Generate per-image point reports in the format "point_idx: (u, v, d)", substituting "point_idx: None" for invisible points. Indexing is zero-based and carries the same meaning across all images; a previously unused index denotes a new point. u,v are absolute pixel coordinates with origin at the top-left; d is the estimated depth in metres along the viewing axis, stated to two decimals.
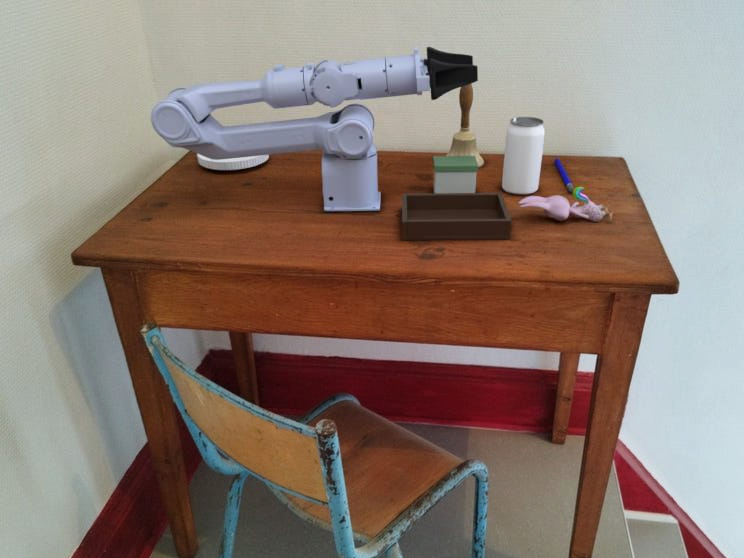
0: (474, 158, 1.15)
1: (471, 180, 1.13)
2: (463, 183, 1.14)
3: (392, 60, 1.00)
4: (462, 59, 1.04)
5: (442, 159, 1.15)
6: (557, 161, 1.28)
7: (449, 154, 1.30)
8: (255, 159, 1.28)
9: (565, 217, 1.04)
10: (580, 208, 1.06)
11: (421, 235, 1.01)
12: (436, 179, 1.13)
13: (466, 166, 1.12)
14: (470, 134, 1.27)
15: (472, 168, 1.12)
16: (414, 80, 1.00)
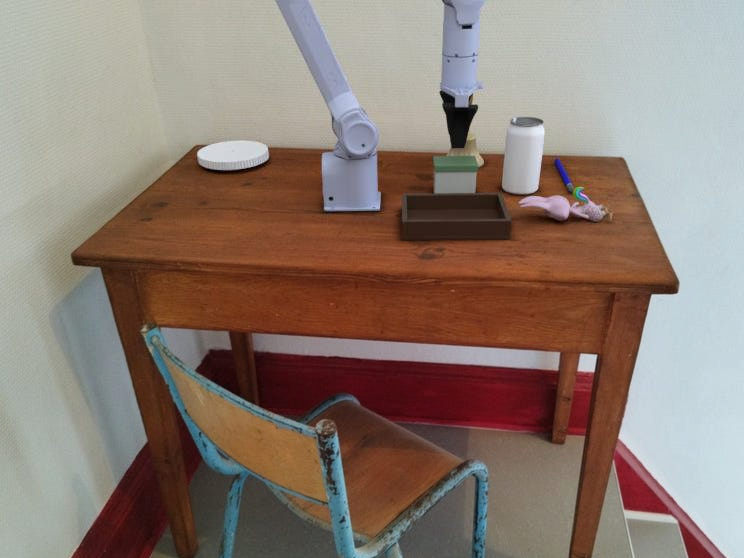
0: (474, 158, 1.15)
1: (471, 180, 1.13)
2: (463, 183, 1.14)
3: (476, 62, 1.04)
4: None
5: (442, 159, 1.15)
6: (557, 161, 1.28)
7: (449, 154, 1.30)
8: (255, 159, 1.28)
9: (565, 217, 1.04)
10: (580, 208, 1.06)
11: (421, 235, 1.01)
12: (436, 179, 1.13)
13: (466, 166, 1.12)
14: (470, 134, 1.27)
15: (472, 168, 1.12)
16: (458, 85, 1.04)
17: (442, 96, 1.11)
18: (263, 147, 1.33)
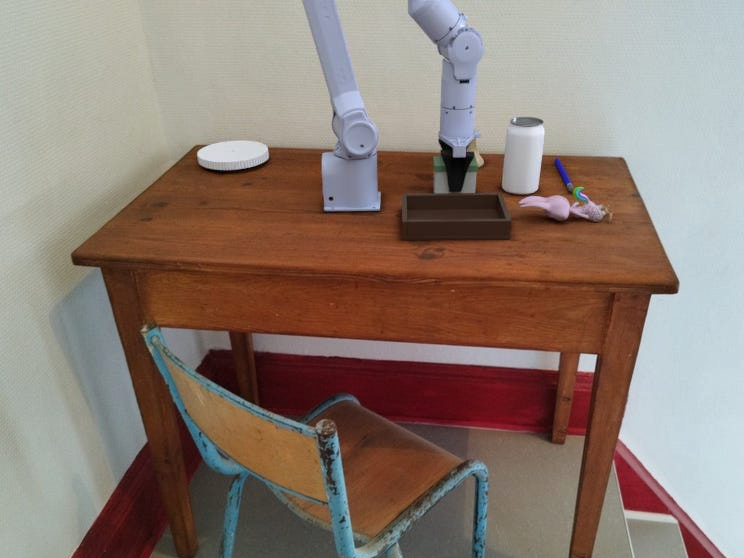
0: (474, 158, 1.15)
1: (471, 180, 1.14)
2: None
3: (473, 113, 1.08)
4: None
5: (442, 159, 1.15)
6: (557, 161, 1.28)
7: None
8: (255, 159, 1.28)
9: (565, 217, 1.04)
10: (580, 208, 1.06)
11: (421, 235, 1.01)
12: (436, 179, 1.14)
13: None
14: None
15: (472, 168, 1.12)
16: (456, 135, 1.09)
17: (441, 144, 1.15)
18: (263, 147, 1.33)
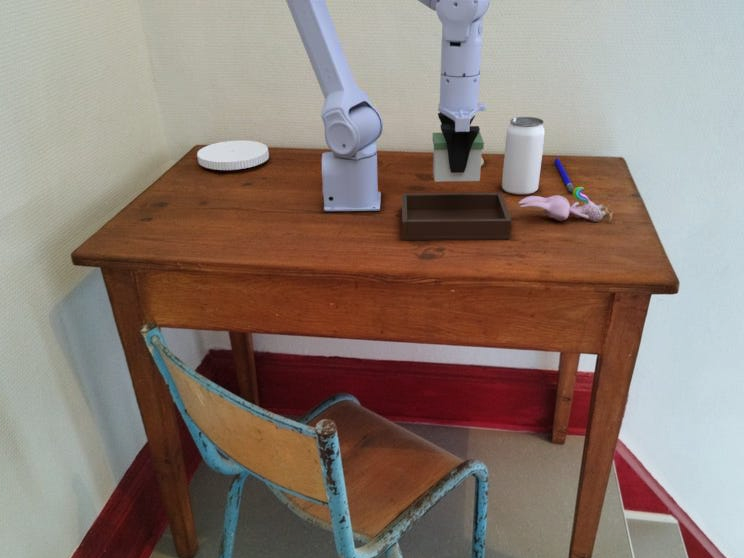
0: (479, 135, 1.01)
1: (475, 160, 1.00)
2: None
3: (478, 82, 0.95)
4: None
5: None
6: (557, 161, 1.28)
7: None
8: (255, 159, 1.28)
9: (565, 217, 1.04)
10: (580, 208, 1.06)
11: (421, 235, 1.01)
12: (436, 158, 1.00)
13: None
14: None
15: (477, 145, 0.99)
16: (458, 107, 0.95)
17: (441, 119, 1.02)
18: (263, 147, 1.33)
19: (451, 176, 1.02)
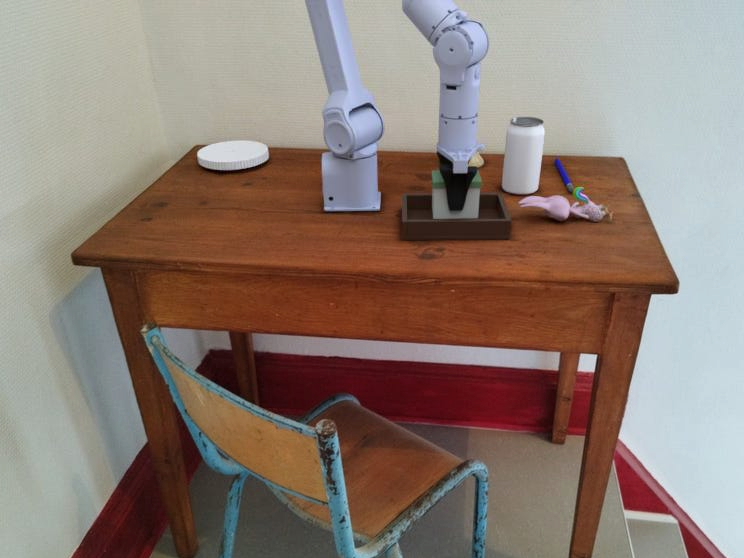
0: (477, 173, 1.03)
1: (474, 198, 1.01)
2: None
3: (476, 123, 0.96)
4: None
5: None
6: (557, 161, 1.28)
7: None
8: (255, 159, 1.28)
9: (565, 217, 1.04)
10: (580, 208, 1.06)
11: (421, 235, 1.01)
12: (435, 196, 1.01)
13: None
14: None
15: (475, 184, 1.00)
16: (456, 148, 0.97)
17: (439, 157, 1.03)
18: (263, 147, 1.33)
19: (449, 214, 1.03)
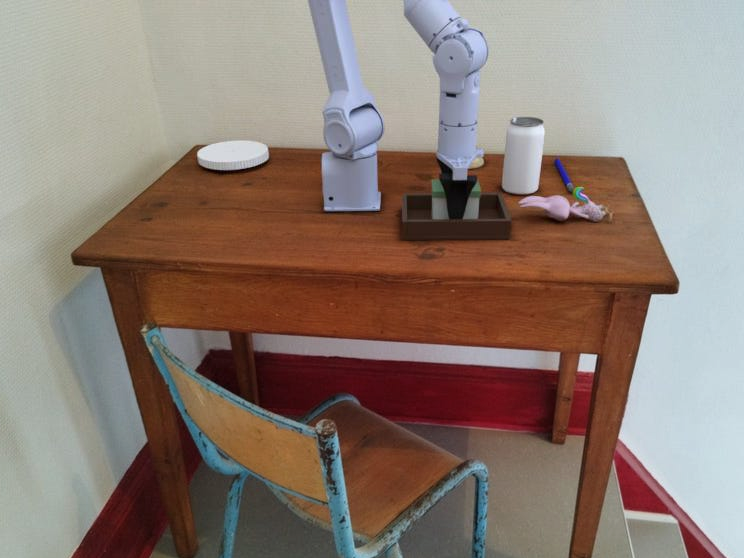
0: None
1: (473, 207, 1.02)
2: None
3: (475, 130, 0.97)
4: None
5: None
6: (557, 161, 1.28)
7: None
8: (255, 159, 1.28)
9: (565, 217, 1.04)
10: (580, 208, 1.06)
11: (421, 235, 1.01)
12: (434, 206, 1.02)
13: None
14: None
15: (474, 194, 1.01)
16: (456, 155, 0.97)
17: (439, 162, 1.04)
18: (263, 147, 1.33)
19: None
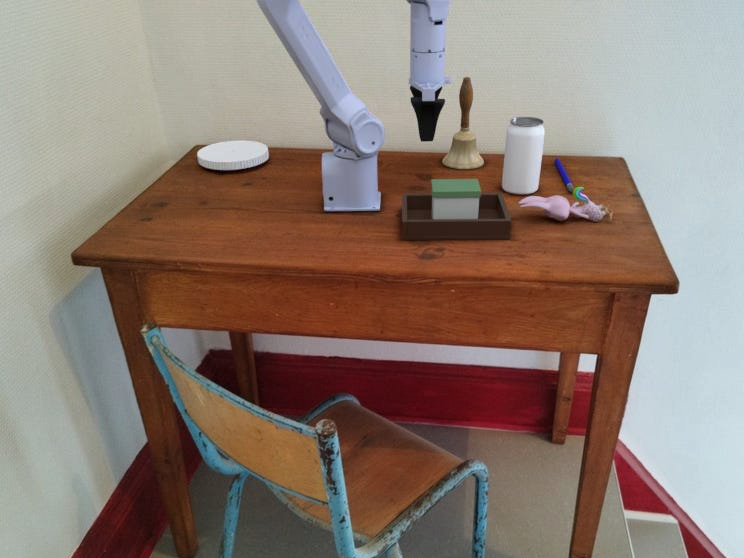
0: (476, 182, 1.03)
1: (473, 207, 1.02)
2: (464, 210, 1.02)
3: (443, 57, 1.07)
4: None
5: (441, 183, 1.03)
6: (557, 161, 1.28)
7: (449, 154, 1.30)
8: (255, 159, 1.28)
9: (565, 217, 1.04)
10: (580, 208, 1.06)
11: (421, 235, 1.01)
12: (434, 206, 1.02)
13: (467, 192, 1.01)
14: (470, 134, 1.27)
15: (474, 194, 1.01)
16: (426, 80, 1.08)
17: (412, 91, 1.15)
18: (263, 147, 1.33)
19: None
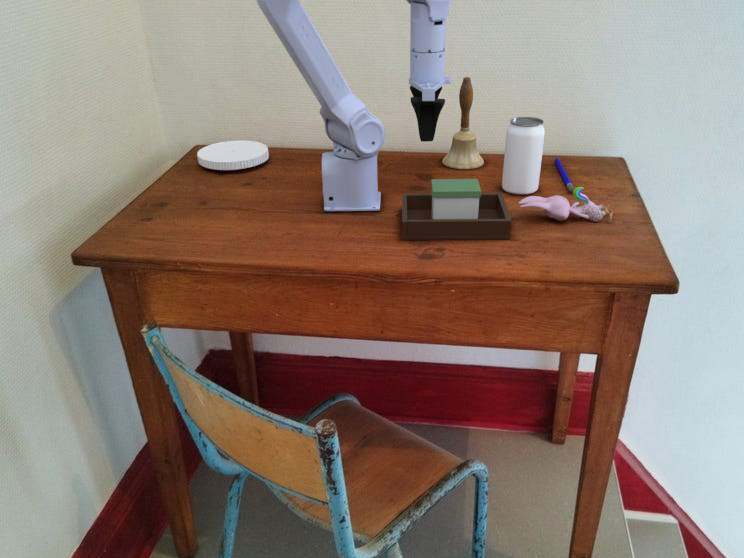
0: (476, 182, 1.03)
1: (473, 207, 1.02)
2: (464, 210, 1.02)
3: (443, 57, 1.07)
4: None
5: (441, 183, 1.03)
6: (557, 161, 1.28)
7: (449, 154, 1.30)
8: (255, 159, 1.28)
9: (565, 217, 1.04)
10: (580, 208, 1.06)
11: (421, 235, 1.01)
12: (434, 206, 1.02)
13: (467, 192, 1.01)
14: (470, 134, 1.27)
15: (474, 194, 1.01)
16: (426, 80, 1.08)
17: (412, 91, 1.15)
18: (263, 147, 1.33)
19: None
